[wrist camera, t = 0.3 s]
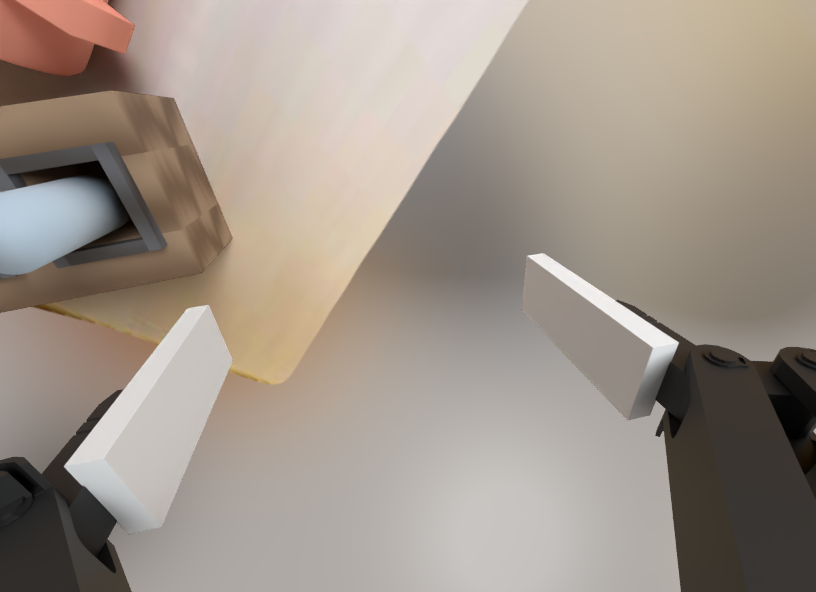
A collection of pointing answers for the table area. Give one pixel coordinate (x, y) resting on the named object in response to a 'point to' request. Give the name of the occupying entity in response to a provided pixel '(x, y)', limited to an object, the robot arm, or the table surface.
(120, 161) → the wooden peg block
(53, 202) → the peg
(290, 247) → the table surface
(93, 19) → the teapot
